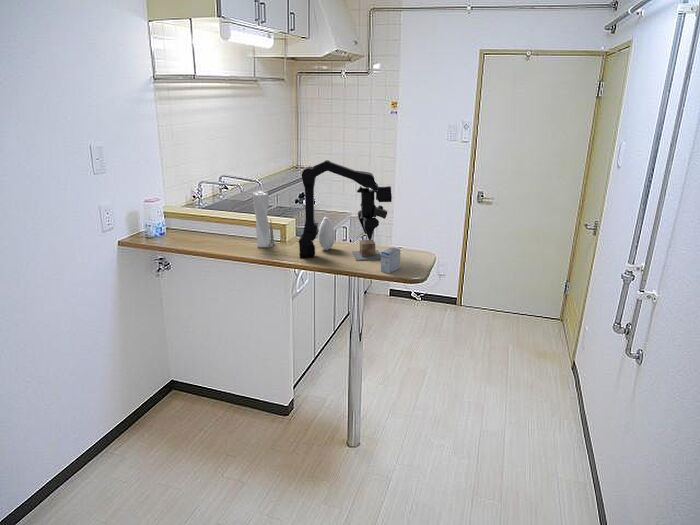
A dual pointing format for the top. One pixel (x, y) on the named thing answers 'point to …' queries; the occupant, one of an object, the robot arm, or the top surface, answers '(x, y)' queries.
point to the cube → (367, 248)
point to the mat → (360, 258)
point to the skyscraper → (262, 220)
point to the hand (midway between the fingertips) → (368, 236)
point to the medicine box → (390, 260)
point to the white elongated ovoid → (326, 234)
